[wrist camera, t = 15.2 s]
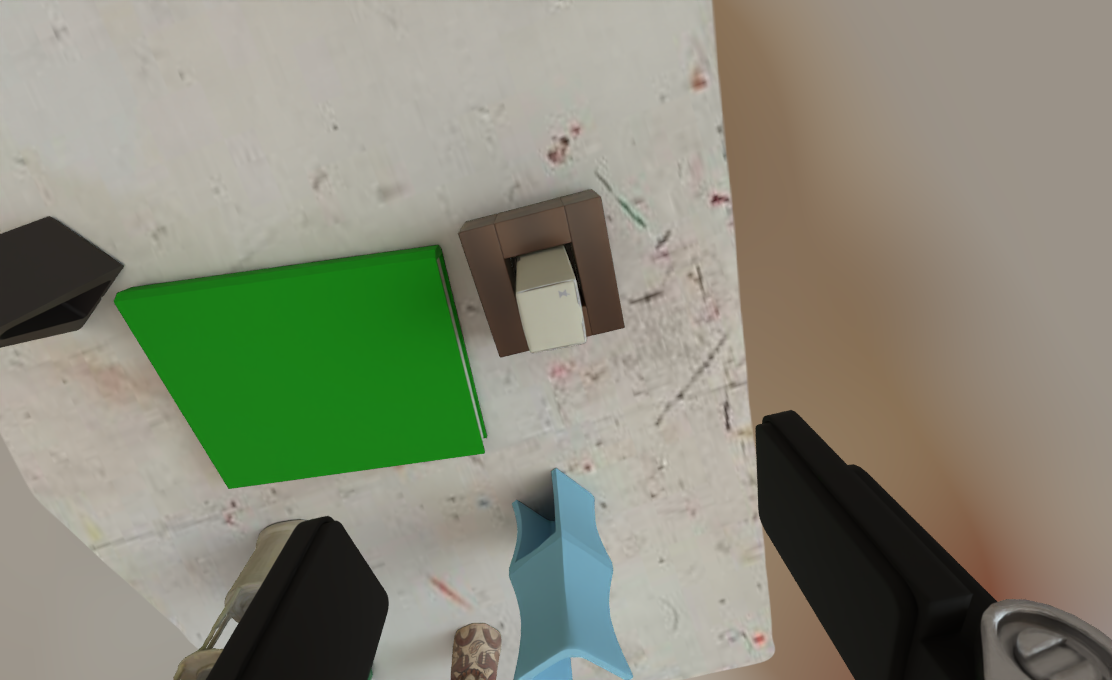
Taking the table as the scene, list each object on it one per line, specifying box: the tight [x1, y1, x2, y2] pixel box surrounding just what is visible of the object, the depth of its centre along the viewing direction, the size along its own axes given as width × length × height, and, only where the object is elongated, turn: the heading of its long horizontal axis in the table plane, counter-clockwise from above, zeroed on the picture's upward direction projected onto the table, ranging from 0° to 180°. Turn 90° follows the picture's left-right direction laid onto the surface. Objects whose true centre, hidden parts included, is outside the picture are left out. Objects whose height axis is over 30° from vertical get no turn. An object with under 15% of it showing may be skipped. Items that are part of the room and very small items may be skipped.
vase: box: [509, 468, 633, 680], centre depth 45 cm, size 8×8×20 cm
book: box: [114, 245, 487, 489], centre depth 43 cm, size 22×28×3 cm
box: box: [516, 244, 587, 353], centre depth 35 cm, size 5×4×13 cm
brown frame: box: [458, 189, 625, 357], centre depth 39 cm, size 12×12×5 cm
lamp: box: [174, 520, 305, 680], centre depth 41 cm, size 10×13×30 cm
